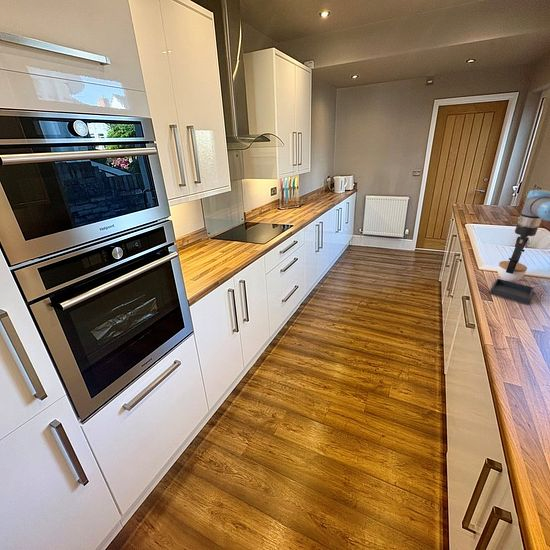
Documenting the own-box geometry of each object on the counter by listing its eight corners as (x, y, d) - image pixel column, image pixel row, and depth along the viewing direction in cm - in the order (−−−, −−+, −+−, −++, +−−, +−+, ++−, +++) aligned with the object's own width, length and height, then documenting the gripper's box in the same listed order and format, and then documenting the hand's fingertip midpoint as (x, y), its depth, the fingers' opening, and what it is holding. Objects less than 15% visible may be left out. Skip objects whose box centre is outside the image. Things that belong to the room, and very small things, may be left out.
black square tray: (532, 292, 131) (534, 287, 129) (528, 304, 122) (530, 299, 121) (495, 283, 139) (497, 278, 138) (489, 293, 130) (491, 288, 129)
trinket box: (498, 283, 139) (505, 265, 135) (491, 273, 148) (497, 256, 144) (525, 285, 136) (532, 267, 132) (516, 276, 145) (523, 259, 141)
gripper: (521, 218, 141) (506, 258, 150) (512, 230, 125) (497, 274, 134) (541, 221, 136) (524, 262, 145) (535, 234, 120) (517, 279, 129)
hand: (511, 268), depth 140 cm, fingers open, 13 cm apart
